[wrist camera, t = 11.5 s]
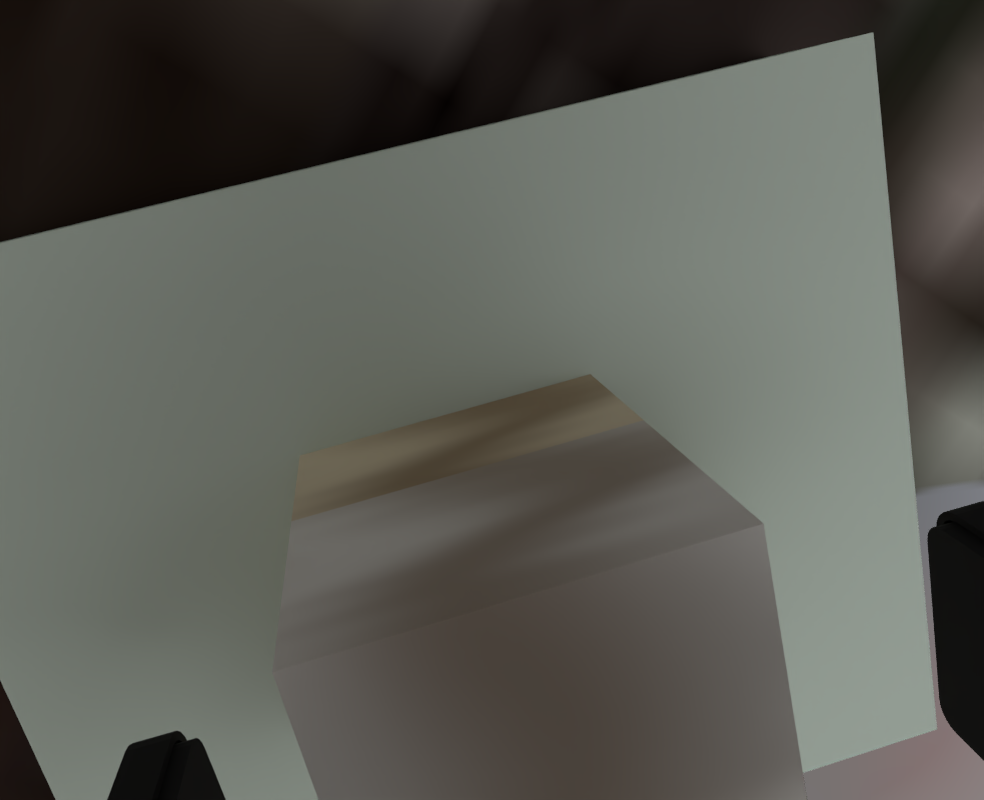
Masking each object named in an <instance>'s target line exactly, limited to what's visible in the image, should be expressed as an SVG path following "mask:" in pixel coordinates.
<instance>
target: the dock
mask: <svg viewBox="0 0 984 800" xmlns="http://www.w3.org/2000/svg"><path fill="white" fill-rule="evenodd" d="M589 374H591V375H592V376H593V377H594V378H595V379H597V380H598V381H599V382H600V383H601V384H602V385H604V386H605V387H606V388H607V389H608V390H609V391H611V392H612V393H613V394H614V395H615V396H616V397H617V398H619V399H620V400H621V401H622V402H623V403H624V404H626V405H627V406H628V407H629V408H630V409H631V410H633V411H634V412H635V413H636V414H637V415H638V416H639V417H641V418H642V419H643V420H644V421H645V422H646V423H648V424H649V425H650V426H651V427H652V428H653V429H655V430H656V431H657V432H658V433H659V434H660V435H662V436H663V437H664V438H665V439H666V440H667V441H668V442H670V443H671V444H672V445H673V446H674V447H675V448H677V449H678V450H679V451H680V452H681V453H682V454H684V455H685V456H686V457H687V458H688V459H689V460H690V461H692V462H693V463H694V464H695V465H696V466H697V467H699V468H700V469H701V470H702V471H703V472H704V473H706V474H707V475H708V476H709V477H710V478H711V479H712V480H714V481H715V482H716V483H717V484H718V485H719V486H721V487H722V488H723V489H724V490H725V491H726V492H728V493H729V494H730V495H731V496H732V497H733V498H735V499H736V500H737V501H738V502H739V503H740V504H741V505H743V506H744V507H745V508H746V509H747V510H748V511H750V512H751V513H752V514H753V515H754V516H755V517H757V518H758V519H759V520H760V521H761V522H762V523H763V524H764V529H765V536H766V542H767V548H768V555H769V561H770V567H771V574H772V580H773V586H774V593H775V599H776V605H777V612H778V618H779V624H780V631H781V637H782V643H783V650H784V656H785V662H786V669H787V675H788V681H789V688H790V694H791V700H792V707H793V713H794V719H795V726H796V732H797V739H798V745H799V751H800V758H801V764H802V770H803V773H804V772H807V771H811V770H814V769H817V768H820V767H823V766H826V765H829V764H832V763H835V762H838V761H841V760H844V759H847V758H850V757H853V756H856V755H860V754H863V753H866V752H869V751H872V750H875V749H878V748H881V747H884V746H887V745H890V744H893V743H896V742H899V741H903V740H906V739H909V738H912V737H915V736H917V735H921V734H924V733H927V732H930V731H933V730H936V729H937V724H936V713H935V702H934V691H933V681H932V670H931V658H930V647H929V637H928V625H927V614H926V603H925V592H924V581H923V571H922V560H921V548H920V538H919V527H918V516H917V505H916V494H915V483H914V472H913V461H912V450H911V439H910V428H909V417H908V406H907V395H906V384H905V373H904V362H903V351H902V341H901V330H900V319H899V308H898V297H897V286H896V275H895V264H894V253H893V242H892V231H891V220H890V209H889V198H888V187H887V176H886V165H885V155H884V144H883V133H882V122H881V111H880V100H879V89H878V78H877V67H876V56H875V45H874V34H873V33H868V34H864V35H860V36H855V37H851V38H847V39H842V40H838V41H834V42H829V43H825V44H821V45H816V46H812V47H808V48H803V49H799V50H795V51H790V52H786V53H782V54H777V55H773V56H769V57H765V58H760V59H756V60H752V61H748V62H744V63H740V64H736V65H731V66H727V67H723V68H719V69H715V70H711V71H707V72H702V73H698V74H694V75H690V76H686V77H682V78H678V79H673V80H669V81H665V82H661V83H657V84H653V85H649V86H644V87H640V88H636V89H632V90H628V91H624V92H620V93H615V94H611V95H607V96H603V97H599V98H595V99H591V100H586V101H582V102H578V103H574V104H570V105H566V106H562V107H557V108H553V109H549V110H545V111H541V112H537V113H533V114H528V115H524V116H520V117H516V118H512V119H508V120H504V121H499V122H495V123H491V124H487V125H483V126H479V127H475V128H471V129H466V130H462V131H458V132H454V133H450V134H446V135H442V136H437V137H433V138H429V139H425V140H421V141H417V142H413V143H408V144H404V145H400V146H396V147H392V148H388V149H384V150H379V151H375V152H371V153H367V154H363V155H359V156H355V157H350V158H346V159H342V160H338V161H334V162H330V163H326V164H321V165H317V166H313V167H309V168H305V169H301V170H297V171H292V172H288V173H284V174H280V175H276V176H272V177H268V178H263V179H259V180H255V181H251V182H247V183H243V184H239V185H234V186H230V187H226V188H222V189H218V190H214V191H210V192H205V193H201V194H197V195H193V196H189V197H185V198H181V199H176V200H172V201H168V202H164V203H160V204H156V205H152V206H147V207H143V208H139V209H135V210H131V211H127V212H123V213H118V214H114V215H110V216H106V217H102V218H98V219H94V220H89V221H85V222H81V223H77V224H73V225H69V226H65V227H60V228H56V229H52V230H48V231H44V232H40V233H36V234H32V235H27V236H23V237H19V238H15V239H11V240H7V241H3V242H0V681H1V683H2V685H3V687H4V689H5V692H6V694H7V696H8V698H9V700H10V702H11V704H12V707H13V709H14V711H15V713H16V715H17V717H18V719H19V722H20V724H21V726H22V728H23V730H24V732H25V734H26V737H27V739H28V741H29V743H30V745H31V747H32V750H33V752H34V754H35V756H36V758H37V760H38V762H39V765H40V767H41V769H42V771H43V773H44V775H45V777H46V780H47V782H48V784H49V786H50V788H51V790H52V793H53V795H54V797H55V799H56V800H107V799H108V796H109V793H110V791H111V788H112V785H113V783H114V780H115V777H116V775H117V772H118V769H119V766H120V764H121V761H122V758H123V756H124V753H125V751H126V749H127V747H128V746H129V745H130V744H132V743H135V742H138V741H142V740H145V739H149V738H152V737H156V736H159V735H163V734H166V733H170V732H173V731H180V732H181V733H182V734H183V735H184V736H185V737H186V739H187V740H191V739H194V738H198V739H200V740H201V742H202V743H203V745H204V747H205V749H206V752H207V754H208V757H209V759H210V762H211V764H212V767H213V769H214V772H215V774H216V777H217V779H218V782H219V784H220V787H221V789H222V791H223V794H224V796H225V799H226V800H318V797H317V794H316V791H315V789H314V786H313V783H312V780H311V778H310V775H309V772H308V769H307V767H306V764H305V761H304V758H303V756H302V753H301V750H300V748H299V745H298V742H297V739H296V737H295V734H294V731H293V728H292V726H291V723H290V720H289V717H288V715H287V712H286V709H285V706H284V704H283V701H282V698H281V695H280V693H279V690H278V687H277V684H276V682H275V679H274V676H273V673H272V670H273V662H274V654H275V646H276V638H277V630H278V622H279V614H280V607H281V599H282V591H283V583H284V575H285V567H286V559H287V551H288V544H289V536H290V528H291V520H292V512H293V504H294V496H295V488H296V481H297V473H298V465H299V457H300V455H304V454H307V453H311V452H314V451H318V450H321V449H325V448H329V447H332V446H336V445H339V444H343V443H346V442H350V441H354V440H357V439H361V438H364V437H368V436H371V435H375V434H379V433H382V432H386V431H389V430H393V429H396V428H400V427H403V426H407V425H411V424H414V423H418V422H421V421H425V420H428V419H432V418H436V417H439V416H443V415H446V414H450V413H453V412H457V411H461V410H464V409H468V408H471V407H475V406H478V405H482V404H486V403H489V402H493V401H496V400H500V399H503V398H507V397H511V396H514V395H518V394H521V393H525V392H528V391H532V390H535V389H539V388H543V387H546V386H550V385H553V384H557V383H560V382H564V381H568V380H571V379H575V378H578V377H582V376H585V375H589Z"/></svg>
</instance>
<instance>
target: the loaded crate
mask: <svg viewBox="0 0 984 800" xmlns="http://www.w3.org/2000/svg"><path fill="white" fill-rule="evenodd" d="M272 673H273V676H274V679H275V682H276V684H277V687H278V690H279V693H280V695H281V698H282V701H283V704H284V706H285V709H286V712H287V715H288V717H289V720H290V723H291V726H292V728H293V731H294V734H295V737H296V739H297V742H298V745H299V748H300V750H301V753H302V756H303V758H304V761H305V764H306V767H307V769H308V772H309V775H310V778H311V780H312V783H313V786H314V789H315V791H316V794H317V797H318V800H807V796H806V790H805V783H804V777H803V770H802V764H801V758H800V751H799V745H798V739H797V732H796V726H795V719H794V713H793V707H792V700H791V694H790V688H789V681H788V675H787V669H786V662H785V656H784V650H783V643H782V637H781V631H780V624H779V618H778V612H777V605H776V599H775V593H774V586H773V580H772V574H771V567H770V561H769V555H768V548H767V542H766V536H765V529H764V524H763V523H762V522H761V521H760V520H759V519H758V518H757V517H755V516H754V515H753V514H752V513H751V512H750V511H748V510H747V509H746V508H745V507H744V506H743V505H741V504H740V503H739V502H738V501H737V500H736V499H735V498H733V497H732V496H731V495H730V494H729V493H728V492H726V491H725V490H724V489H723V488H722V487H721V486H719V485H718V484H717V483H716V482H715V481H714V480H712V479H711V478H710V477H709V476H708V475H707V474H706V473H704V472H703V471H702V470H701V469H700V468H699V467H697V466H696V465H695V464H694V463H693V462H692V461H690V460H689V459H688V458H687V457H686V456H685V455H684V454H682V453H681V452H680V451H679V450H678V449H677V448H675V447H674V446H673V445H672V444H671V443H670V442H668V441H667V440H666V439H665V438H664V437H663V436H662V435H660V434H659V433H658V432H657V431H656V430H655V429H653V428H652V427H651V426H650V425H649V424H648V423H646V422H645V421H644V420H643V419H642V418H641V417H639V416H638V415H637V414H636V413H635V412H634V411H633V410H631V409H630V408H629V407H628V406H627V405H626V404H624V403H623V402H622V401H621V400H620V399H619V398H617V397H616V396H615V395H614V394H613V393H612V392H611V391H609V390H608V389H607V388H606V387H605V386H604V385H602V384H601V383H600V382H599V381H598V380H597V379H595V378H594V377H593V376H592V375H591V374H589V375H585V376H582V377H578V378H575V379H571V380H568V381H564V382H560V383H557V384H553V385H550V386H546V387H543V388H539V389H535V390H532V391H528V392H525V393H521V394H518V395H514V396H511V397H507V398H503V399H500V400H496V401H493V402H489V403H486V404H482V405H478V406H475V407H471V408H468V409H464V410H461V411H457V412H453V413H450V414H446V415H443V416H439V417H436V418H432V419H428V420H425V421H421V422H418V423H414V424H411V425H407V426H403V427H400V428H396V429H393V430H389V431H386V432H382V433H379V434H375V435H371V436H368V437H364V438H361V439H357V440H354V441H350V442H346V443H343V444H339V445H336V446H332V447H329V448H325V449H321V450H318V451H314V452H311V453H307V454H304V455H300V457H299V465H298V473H297V481H296V488H295V496H294V504H293V512H292V520H291V528H290V536H289V544H288V551H287V559H286V567H285V575H284V583H283V591H282V599H281V607H280V614H279V622H278V630H277V638H276V646H275V654H274V662H273V670H272Z"/></svg>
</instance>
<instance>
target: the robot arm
mask: <svg viewBox="0 0 984 800" xmlns="http://www.w3.org/2000/svg"><path fill="white" fill-rule="evenodd" d="M928 553H929V567H930V579H931V594H932V606H933V620H934V633H935V647H936V658H937V659H936V660H937V673H938V687H939V699H940V705H941V708H942V711H943V713H944V716H945V718H946V720H947V721H948V723H949V724H950V726H951V727H952V728H953V730H954V731H955V732H956V733H957V734H958V735H959V736H960V737H961V738H962V739H963V740H964V741H965V742H966V743H967V744H968V745H969V746H970V747H971V748H972V749H973V750H974V751H975V752H976V753H977V754H978V755H979V756H980V757H981V758H982V759H983V760H984V501H982V502H978V503H975V504H971V505H968V506H964V507H961V508H957V509H954V510H950V511H947V512H943V513H942V514H941V515H940V516H939V518H938V520H937V526H936V527H933V528H931V529H930V531H929V533H928ZM107 800H226V799H225V796H224V794H223V791H222V789H221V787H220V784H219V782H218V779H217V777H216V774H215V772H214V769H213V767H212V764H211V762H210V759H209V757H208V754H207V752H206V749H205V747H204V745H203V743H202V742H201V740H200V739H198V738H194V739H191V740H187V739H186V737H185V736H184V735H183V734H182V733H181V732H180V731H173V732H170V733H166V734H163V735H159V736H156V737H152V738H149V739H145V740H142V741H138V742H135V743H132V744H130V745H129V746H128V747H127V749H126V751H125V753H124V756H123V758H122V761H121V764H120V766H119V769H118V772H117V775H116V777H115V780H114V783H113V785H112V788H111V791H110V793H109V796H108V799H107Z"/></svg>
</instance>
